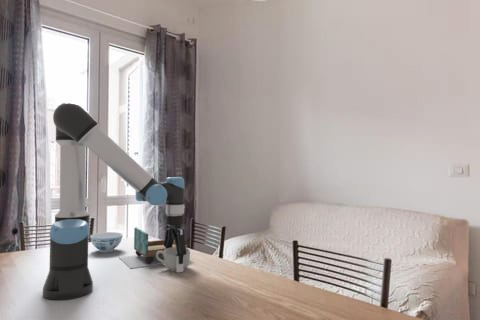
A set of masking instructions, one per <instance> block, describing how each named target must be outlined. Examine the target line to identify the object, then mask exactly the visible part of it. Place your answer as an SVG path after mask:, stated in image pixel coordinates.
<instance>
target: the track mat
mask: <svg viewBox="0 0 480 320" xmlns="http://www.w3.org/2000/svg"><path fill="white" fill-rule="evenodd" d="M158 257H159V258H160V259H162V260H164V257H163V255H160V256H158ZM145 258H146V257H144V256H143V255H141V256H138V255H136V254H135V255H129V256H128V255H126V256H119V258H118V259H119V260H121V261H122V262H123V263H124V265H126V266H127V267H128V268H129V269H130V270H132V269H138V268H144V267H152V266H158V265H159V266H160V265H163V263H162V262H160V261H158V260H157V258H156V256H153V257H152V258H153V261H152V263H147V262H146V261H145Z"/></svg>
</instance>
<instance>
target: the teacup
mask: <svg viewBox="0 0 480 320" xmlns="http://www.w3.org/2000/svg"><path fill="white" fill-rule="evenodd" d="M159 253H162V254H163V257H164V260H162V259H160V258H159V257H158V254H159ZM176 255H177V249H176V247H170V248H167V249H165V250H164V251H158V252H157V253H156V258H157V260H158V261H160V262H162V263H163V264H162V265H163V266H165V267H166V268H167V269H168V270H169V271H172V272H176V260H177V256H176ZM190 260H191V249H190V248H188V247H187V248H186V255H184V265H183V271H184V270H185V269H186V268H187V267H188V266H190Z"/></svg>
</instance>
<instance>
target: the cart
mask: <svg viewBox="0 0 480 320" xmlns="http://www.w3.org/2000/svg"><path fill="white" fill-rule="evenodd" d="M133 230H134V232H133V234H134V235H133V236H134V237H133V241H134V242H133V249H134V250H135V255H138V256H141V255H143V256H144V257H146V258H145V261H146V262H147V263H152V261H153V258H152V257H153V256H156V253H157V252H158V251H164V250H165V249H166V248H165V247H164V240H165V239H160V240H150V241H149V233H148V232H146V231H144V230H143V229H141V228H139V227H137V226H136V227H134V229H133ZM172 246H173V247H176V244H175V240H174V242H173V245H172ZM185 246H186V248H188V245H186V244H185ZM160 255H163V254H162V253H159V254H158V256H160Z"/></svg>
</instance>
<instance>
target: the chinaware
mask: <svg viewBox="0 0 480 320" xmlns="http://www.w3.org/2000/svg"><path fill="white" fill-rule="evenodd" d="M89 239H90V241H91V244H92V245H93V246H94V248H95V249H97V250H98V251H99V253H111V252H114V251H115V249H116V248H118V246H119V245H120V243H121V242H122V239H123V233H121V232H116V231H115V232H114V231H113V232H112V231H111V232H110V231H109V232H106V231H105V232H98V233H94V234H90V236H89Z"/></svg>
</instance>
